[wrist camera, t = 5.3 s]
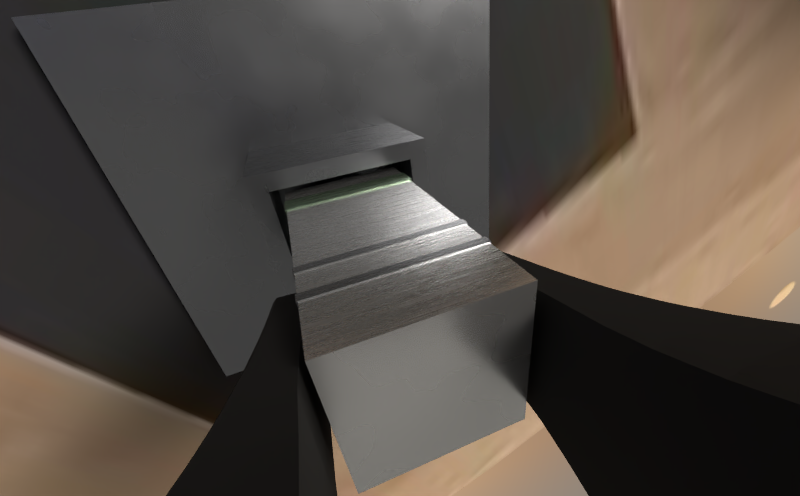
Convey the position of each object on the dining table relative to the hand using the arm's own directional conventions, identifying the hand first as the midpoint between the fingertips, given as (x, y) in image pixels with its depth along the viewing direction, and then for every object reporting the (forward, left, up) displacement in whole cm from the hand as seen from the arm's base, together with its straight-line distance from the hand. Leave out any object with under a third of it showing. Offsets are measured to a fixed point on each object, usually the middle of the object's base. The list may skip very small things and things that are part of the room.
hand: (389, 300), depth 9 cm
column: (0, 0, -6) cm, 6 cm away
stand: (0, 0, -9) cm, 9 cm away
